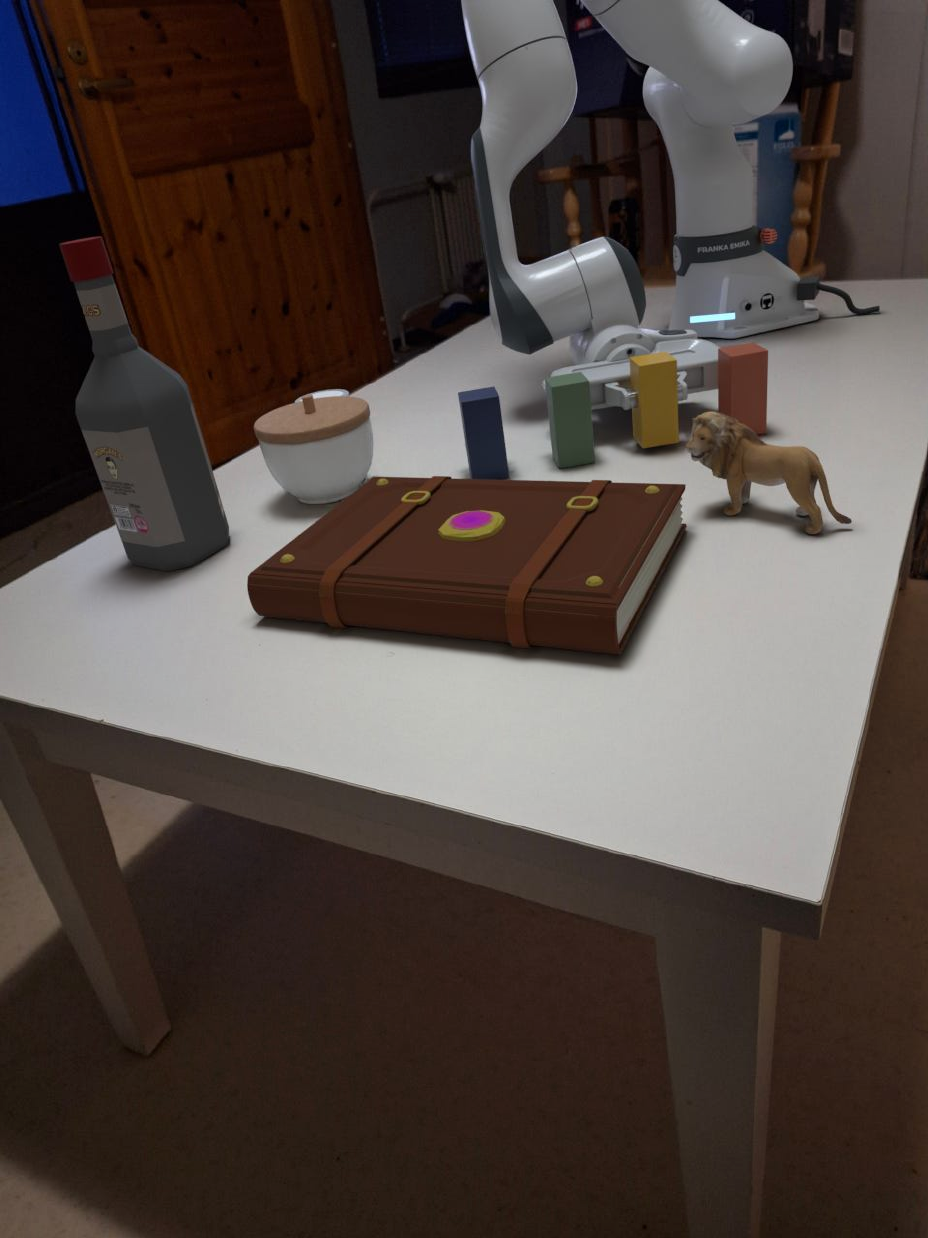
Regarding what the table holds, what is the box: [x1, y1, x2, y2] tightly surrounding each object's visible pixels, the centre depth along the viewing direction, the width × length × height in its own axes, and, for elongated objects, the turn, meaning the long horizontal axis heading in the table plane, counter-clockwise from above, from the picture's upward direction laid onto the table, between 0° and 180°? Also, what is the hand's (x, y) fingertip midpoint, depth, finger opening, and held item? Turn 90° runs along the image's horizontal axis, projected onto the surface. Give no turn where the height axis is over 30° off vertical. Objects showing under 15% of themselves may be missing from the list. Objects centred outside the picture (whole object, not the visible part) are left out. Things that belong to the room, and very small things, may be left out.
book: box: [246, 475, 687, 655], centre depth 77 cm, size 23×32×5 cm
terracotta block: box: [717, 342, 769, 436], centre depth 97 cm, size 4×4×9 cm
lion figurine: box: [685, 410, 853, 535], centre depth 78 cm, size 15×5×9 cm, turn 50°
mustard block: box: [630, 351, 680, 449], centre depth 97 cm, size 4×4×9 cm
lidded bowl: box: [253, 394, 375, 505], centre depth 99 cm, size 13×13×11 cm
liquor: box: [58, 235, 230, 572], centre depth 85 cm, size 9×9×30 cm
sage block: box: [544, 372, 596, 469], centre depth 97 cm, size 4×4×9 cm
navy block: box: [457, 386, 510, 480], centre depth 97 cm, size 4×4×9 cm
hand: (656, 397), depth 96 cm, fingers closed on mustard block, 4 cm apart
